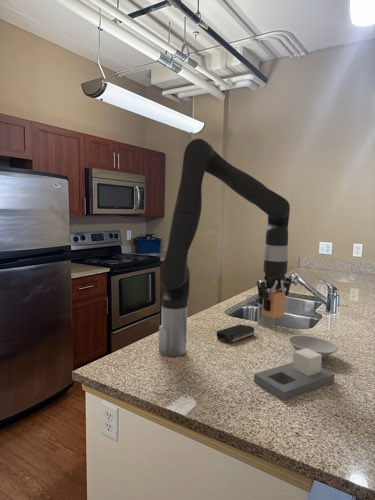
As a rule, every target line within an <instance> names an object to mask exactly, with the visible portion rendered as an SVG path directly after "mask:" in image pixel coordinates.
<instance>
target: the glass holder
mask: <svg viewBox="0 0 375 500" xmlns="http://www.w3.org/2000/svg"><path fill="white" fill-rule="evenodd" d="M262 294H263V293H262ZM249 297H253V298H254V303H255V305H257V315H256V314H254V313H253V312H252V311H251V310H250V308H249V306H248V298H249ZM245 304H246V308H247V310H248V312H249V313H250V314H252V315H253V316H254V317H255V318H256V323H255V324H256V325H257V326H258V327H261V326H262V327H263V328H274V327H273V326H275V327H276V318H271V317H268V316H266V315H263V314H262V304H263V298H260V297H259V296H258V302H257V299H256V297H255V295H253V294H249V295H246V299H245Z"/></svg>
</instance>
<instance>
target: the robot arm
mask: <svg viewBox="0 0 375 500" xmlns="http://www.w3.org/2000/svg"><path fill="white" fill-rule="evenodd" d="M205 173H207V174H209V175H210V176H213V177H215V178H217V179H218V180H220V182H222V183H224V184H225V185H226V186H228V187H229V188H230V189H231V190H233V192H234V193H236V194H237V195H239V196H240V197H242V198H243V199H244V200H246V201H248V202H249V203H251V204H252V205H254V206H256V207H257V208H258V209H260V210H261V211H262V212H264V214H266V215H267V228H266V231H265V245H264V252H263V269H262V270H263V271H262V272H263V273H264V277H263V279H261V280H260V279H257V282H256V286H257V293H258V298H259V297H260V298H263V299H264V306H263V308H264V310H265V311H270V307H271V294H272V293H274V291H275V290H277V291H281V292H285V297H286V296H288V295H289V294H290V292H289V291H290V289H291V285H292V278H291V277H287V276H286V274H288V265H289V264H288V262H289V249H288V247H289V245H288V244H289V222H290V221H289V220H290V211H291V206H290V203H289V201H288V200H287V199H286V198H284V197H283V196H282V195H280V194H278V193H277V192H274V190H272V189H270V188H269V187H267V186H266V185H264V183H262V182H260V181H259V180H258V179H256V178H255V177H253V176H251V175H250V174H249V173H247V172H245V171H243V170H241V169H239V168H237V167H236V166H234V165H233V164H231V163H230V162H228V161H227V160H225V159H224V158H223V157H222V156H221V155H220V154H218V152H217V151H216V150H215V149H214V148H213V146H212V145H211V144H210V143H208V142H207V141H206V140H205V139H203V138H199V137H198V138H194V139H193V138H192V139H191V140H190V141H189V142H188V143H187V145H186V146H185V147H184V152H183V158H182V170H181V177H180V183H179V187H178V192H177V195H176V200H175V205H174V209H173V214H172V218H171V225H170V230H169V235H168V243H167V249H166V253H165V255H164V259H163V261H162V262H163V263H162V266H161V269H160V272H159V278H160V283H161V285H162V286H163V287H164V291H163V295H162V298H161V319H160V321H161V323H160V324H161V325H159V327H158V351H159V352H160V353H161V354H162V355H164V356H165V357H179V356H183V355H185V354H186V352H187V333H188V331H187V329H188V328H187V325H188V321H187V320H188V301H189V296H190V269H189V266H188V264H187V259H188V253H189V250H190V247H191V245H192V243H193V241H194V239H195V236H196V233H197V230H198V228H199V224H200V219H201V214H202V209H203V208H202V205H203V204H202V203H203V201H202V200H203V199H202V194H203V193H202V186H203V179H204V176H205ZM267 292H268V293H269V294H268V296H267ZM262 293H263V294H262Z"/></svg>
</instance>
